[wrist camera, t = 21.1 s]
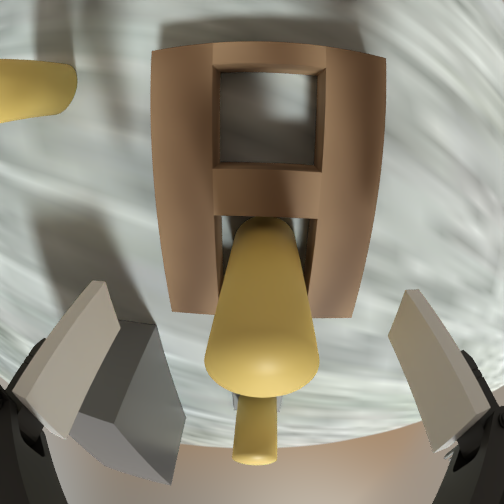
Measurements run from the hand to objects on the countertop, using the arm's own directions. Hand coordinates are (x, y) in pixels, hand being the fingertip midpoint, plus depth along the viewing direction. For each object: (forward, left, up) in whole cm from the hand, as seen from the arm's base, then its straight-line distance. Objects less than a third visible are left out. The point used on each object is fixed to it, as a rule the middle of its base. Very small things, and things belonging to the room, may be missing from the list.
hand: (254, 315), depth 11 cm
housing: (-13, -16, -7) cm, 22 cm away
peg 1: (-15, +12, -7) cm, 20 cm away
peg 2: (0, 0, -7) cm, 7 cm away
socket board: (0, +4, -7) cm, 8 cm away
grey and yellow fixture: (0, -14, -7) cm, 16 cm away
